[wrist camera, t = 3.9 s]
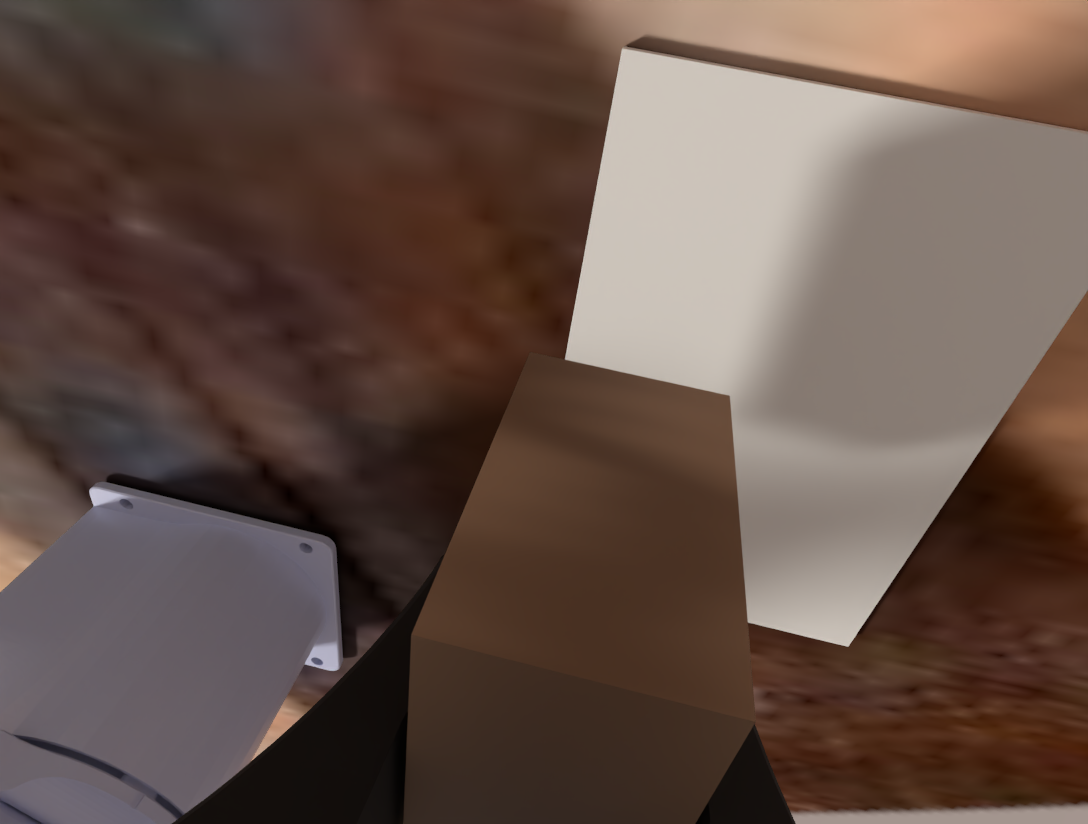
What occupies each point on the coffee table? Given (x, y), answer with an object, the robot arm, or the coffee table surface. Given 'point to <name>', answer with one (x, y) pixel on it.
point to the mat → (829, 301)
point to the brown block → (586, 613)
